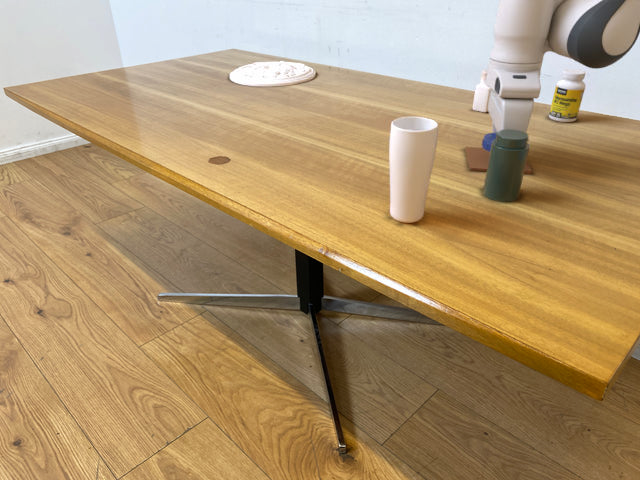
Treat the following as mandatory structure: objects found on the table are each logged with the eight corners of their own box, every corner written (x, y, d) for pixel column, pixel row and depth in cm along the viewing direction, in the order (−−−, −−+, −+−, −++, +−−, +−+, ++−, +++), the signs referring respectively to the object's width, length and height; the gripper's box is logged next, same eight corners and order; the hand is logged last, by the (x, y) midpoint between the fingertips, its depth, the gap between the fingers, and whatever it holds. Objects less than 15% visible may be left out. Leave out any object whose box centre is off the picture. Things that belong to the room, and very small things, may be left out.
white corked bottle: (493, 109, 123) (500, 71, 118) (485, 113, 121) (492, 74, 116) (479, 106, 126) (485, 68, 121) (471, 110, 123) (477, 71, 118)
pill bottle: (545, 120, 116) (556, 72, 110) (551, 113, 120) (562, 67, 114) (573, 124, 113) (586, 75, 107) (578, 117, 117) (591, 70, 111)
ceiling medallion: (323, 67, 167) (323, 58, 166) (303, 88, 144) (302, 77, 143) (247, 64, 173) (246, 55, 171) (216, 84, 150) (214, 73, 148)
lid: (483, 152, 91) (485, 143, 90) (480, 140, 96) (482, 131, 95) (517, 155, 90) (520, 145, 89) (512, 143, 96) (514, 133, 95)
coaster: (520, 152, 99) (521, 149, 98) (531, 174, 89) (532, 171, 89) (465, 149, 100) (465, 146, 100) (470, 170, 91) (470, 167, 91)
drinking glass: (428, 228, 73) (439, 132, 65) (383, 225, 74) (389, 130, 66) (427, 207, 79) (438, 117, 71) (386, 204, 80) (391, 115, 72)
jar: (514, 187, 85) (527, 128, 79) (522, 202, 80) (536, 141, 74) (480, 186, 85) (490, 127, 80) (486, 201, 80) (497, 140, 75)
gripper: (487, 63, 95) (476, 130, 103) (502, 89, 78) (488, 169, 86) (520, 63, 94) (507, 132, 102) (543, 91, 77) (525, 171, 85)
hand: (498, 149), depth 94 cm, fingers closed on lid, 6 cm apart
